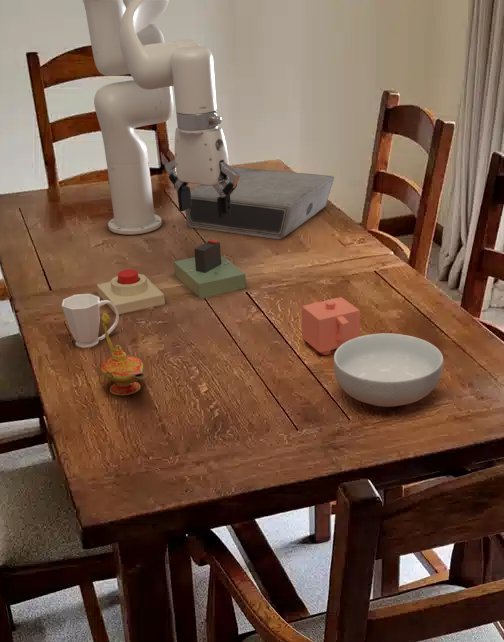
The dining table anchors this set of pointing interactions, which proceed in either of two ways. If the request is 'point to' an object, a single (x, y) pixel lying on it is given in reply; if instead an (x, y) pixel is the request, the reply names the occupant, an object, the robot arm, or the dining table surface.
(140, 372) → the magic lamp
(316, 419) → the dining table surface
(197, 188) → the speaker
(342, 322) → the pink cube teapot
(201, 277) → the panel
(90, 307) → the cup
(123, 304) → the switch box
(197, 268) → the red-striped black box
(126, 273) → the power button
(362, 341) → the cereal bowl
